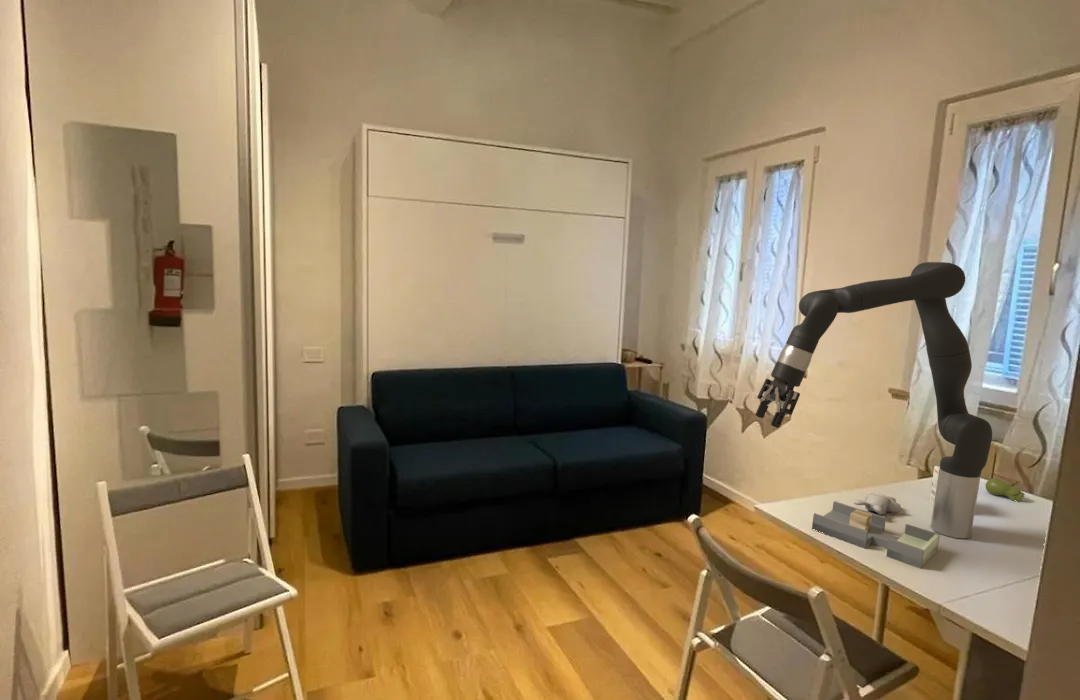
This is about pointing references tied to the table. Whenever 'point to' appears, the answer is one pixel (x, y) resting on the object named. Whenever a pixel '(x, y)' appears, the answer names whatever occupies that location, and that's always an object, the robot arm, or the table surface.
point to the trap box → (879, 535)
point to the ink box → (934, 484)
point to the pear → (1003, 489)
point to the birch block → (860, 520)
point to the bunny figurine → (879, 503)
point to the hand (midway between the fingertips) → (766, 421)
